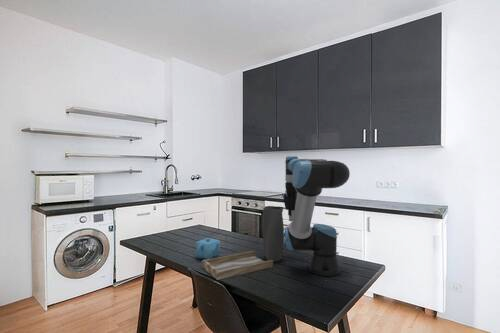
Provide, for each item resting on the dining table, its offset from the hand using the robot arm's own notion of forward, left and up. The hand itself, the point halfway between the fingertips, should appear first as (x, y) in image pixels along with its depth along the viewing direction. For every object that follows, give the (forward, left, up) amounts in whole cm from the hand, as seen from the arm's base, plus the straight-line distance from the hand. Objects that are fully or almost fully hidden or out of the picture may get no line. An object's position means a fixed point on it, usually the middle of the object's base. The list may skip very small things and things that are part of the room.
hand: (291, 220), depth 162 cm
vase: (0, +13, -21) cm, 25 cm away
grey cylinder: (+21, -6, -21) cm, 30 cm away
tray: (0, +36, -21) cm, 42 cm away
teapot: (+21, +44, -21) cm, 54 cm away
